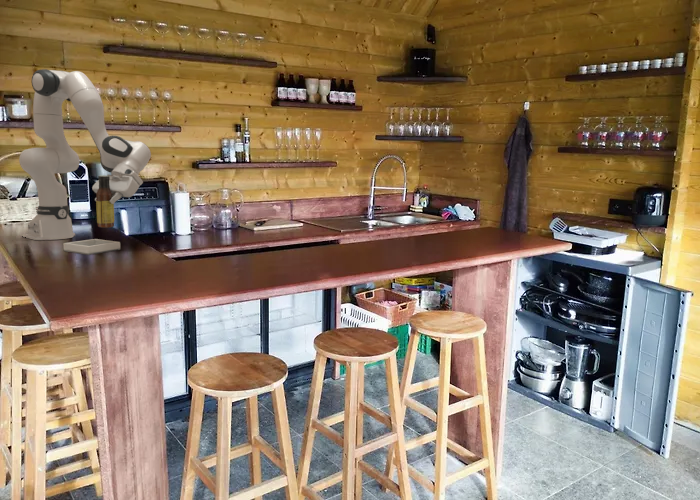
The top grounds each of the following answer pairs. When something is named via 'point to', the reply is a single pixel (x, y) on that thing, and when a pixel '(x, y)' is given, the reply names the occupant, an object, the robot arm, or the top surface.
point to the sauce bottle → (104, 203)
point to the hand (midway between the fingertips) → (103, 202)
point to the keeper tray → (91, 246)
